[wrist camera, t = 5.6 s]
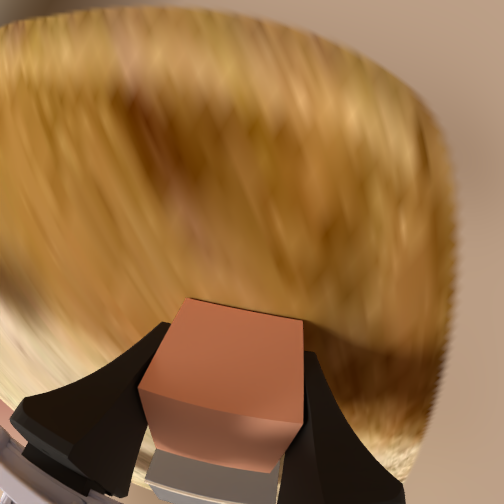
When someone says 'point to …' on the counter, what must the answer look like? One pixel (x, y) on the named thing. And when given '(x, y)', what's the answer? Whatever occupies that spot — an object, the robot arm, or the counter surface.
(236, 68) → the counter surface
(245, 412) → the salmon pink cube
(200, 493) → the block
